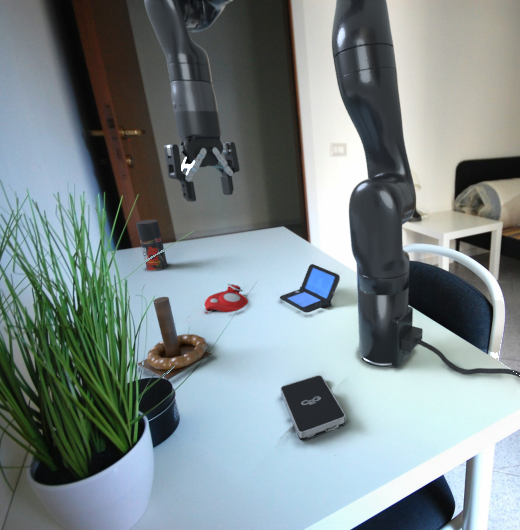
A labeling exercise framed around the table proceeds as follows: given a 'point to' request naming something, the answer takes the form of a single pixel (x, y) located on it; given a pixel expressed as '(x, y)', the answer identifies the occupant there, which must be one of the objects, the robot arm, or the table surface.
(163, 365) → the brown lumpy ring
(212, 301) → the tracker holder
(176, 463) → the table surface
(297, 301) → the handheld console
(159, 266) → the deodorant
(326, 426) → the external hard drive
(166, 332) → the peg
